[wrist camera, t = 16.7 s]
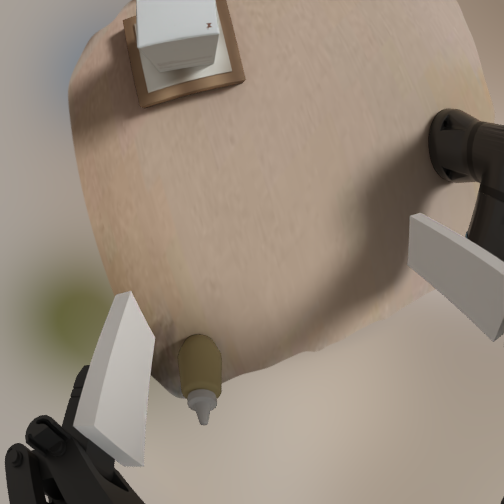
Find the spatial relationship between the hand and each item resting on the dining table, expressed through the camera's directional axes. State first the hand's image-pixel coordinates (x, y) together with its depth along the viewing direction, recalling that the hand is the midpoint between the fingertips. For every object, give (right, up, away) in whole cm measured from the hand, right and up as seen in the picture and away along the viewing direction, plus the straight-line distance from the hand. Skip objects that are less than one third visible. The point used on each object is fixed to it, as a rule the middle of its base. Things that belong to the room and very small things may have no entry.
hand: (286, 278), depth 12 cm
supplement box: (-10, +28, +16) cm, 33 cm away
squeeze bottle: (-12, -17, +40) cm, 45 cm away
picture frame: (-11, +29, +19) cm, 36 cm away
